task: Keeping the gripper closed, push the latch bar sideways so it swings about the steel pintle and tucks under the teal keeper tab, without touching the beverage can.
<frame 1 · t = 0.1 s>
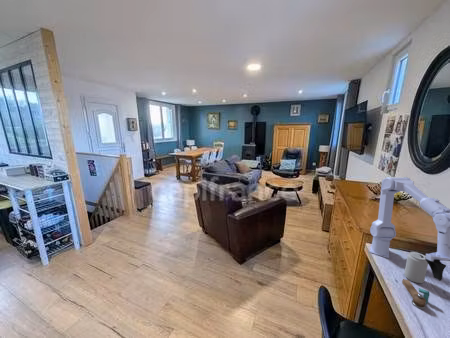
hand: (448, 279, 70), 10 cm above the table, tool pointing down, fingers open, 7 cm apart
keeper: (422, 300, 73), on the table
beverage can: (413, 279, 84), on the table
pintle: (418, 305, 71), on the table
latch bar: (413, 292, 74), point 2 cm above the table, hinge at 20.0°
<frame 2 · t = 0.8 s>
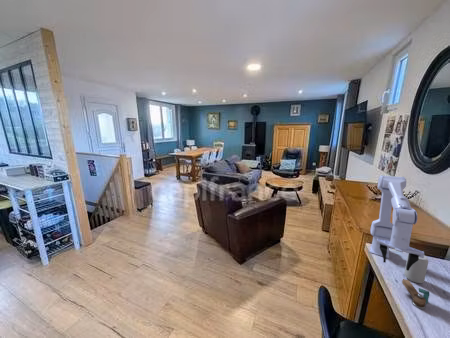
hand: (395, 265, 79), 9 cm above the table, tool pointing down, fingers open, 7 cm apart
nothing on the table moved.
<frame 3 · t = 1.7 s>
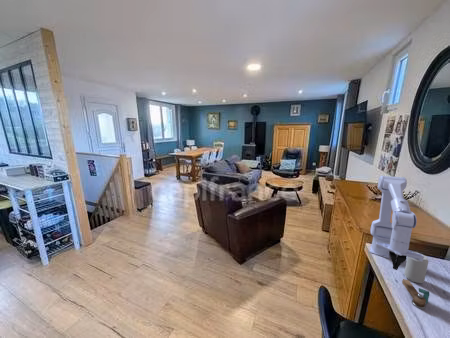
hand: (394, 268, 79), 8 cm above the table, tool pointing down, fingers closed
nothing on the table moved.
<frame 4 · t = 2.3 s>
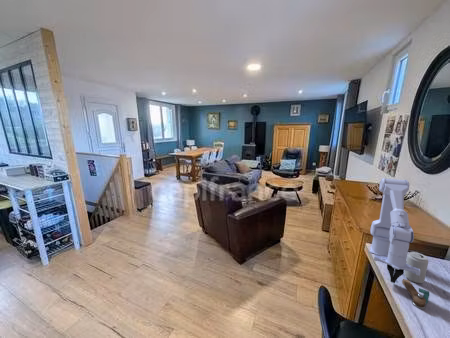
hand: (392, 281, 81), 1 cm above the table, tool pointing down, fingers closed
nothing on the table moved.
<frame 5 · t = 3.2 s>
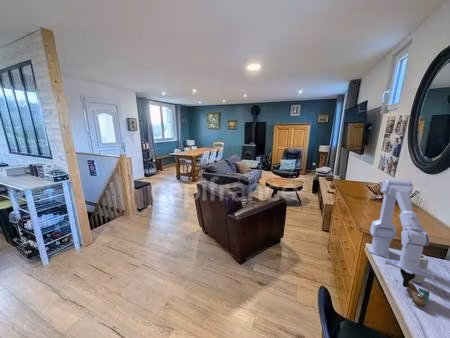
hand: (404, 285, 78), 1 cm above the table, tool pointing down, fingers closed, pressing on latch bar
latch bar: (414, 292, 74), point 2 cm above the table, hinge at 14.8°, touching gripper
everything else where it was.
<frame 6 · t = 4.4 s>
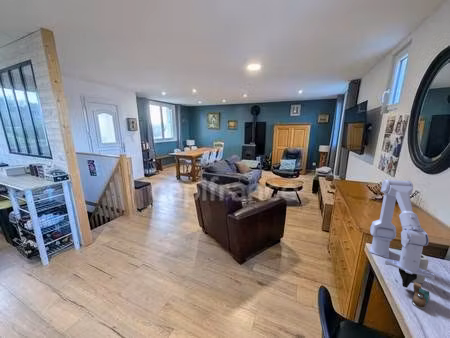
hand: (404, 285, 78), 1 cm above the table, tool pointing down, fingers closed
latch bar: (418, 293, 74), point 2 cm above the table, hinge at -0.7°
everything else where it was.
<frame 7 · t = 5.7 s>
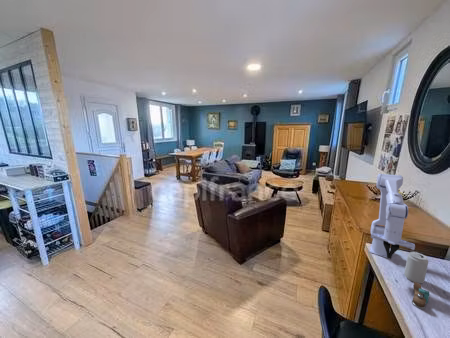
hand: (388, 257, 84), 9 cm above the table, tool pointing down, fingers closed
nothing on the table moved.
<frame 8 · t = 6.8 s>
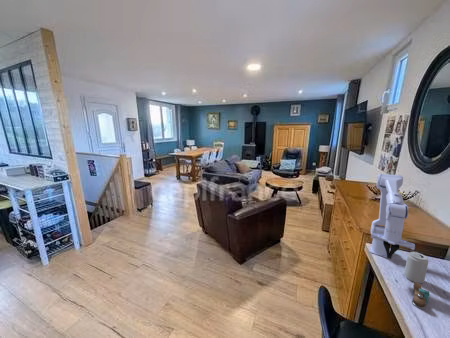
hand: (388, 257, 84), 9 cm above the table, tool pointing down, fingers closed
nothing on the table moved.
at the end: latch bar at -1° (first picture: +20°) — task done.
